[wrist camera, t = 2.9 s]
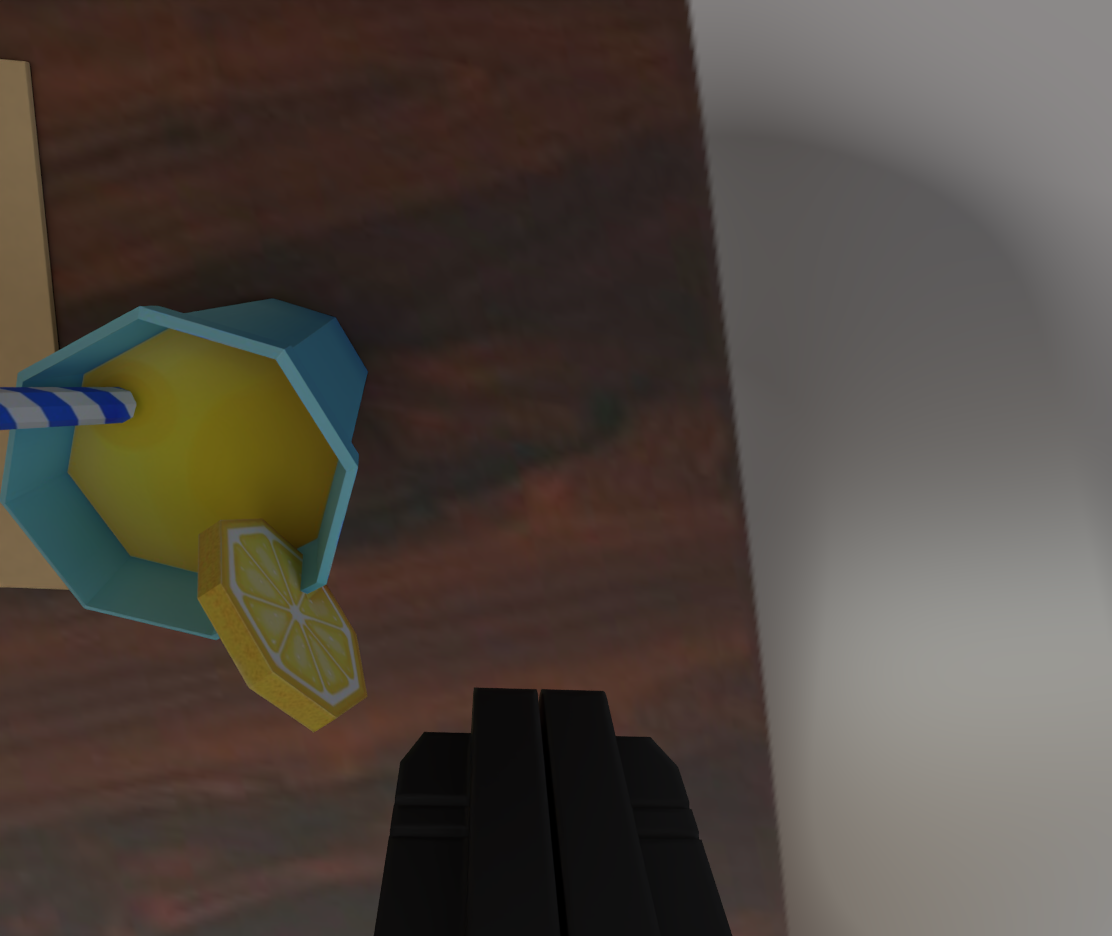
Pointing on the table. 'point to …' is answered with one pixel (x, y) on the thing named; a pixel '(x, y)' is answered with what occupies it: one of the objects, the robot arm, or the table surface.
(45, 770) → the table surface
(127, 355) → the cup
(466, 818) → the robot arm
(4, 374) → the cork mat
